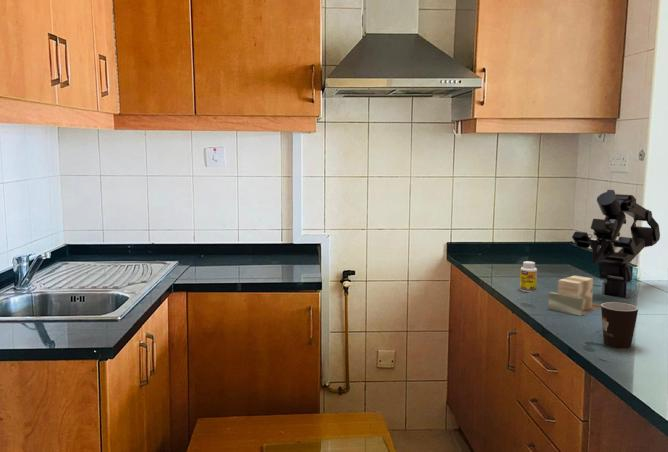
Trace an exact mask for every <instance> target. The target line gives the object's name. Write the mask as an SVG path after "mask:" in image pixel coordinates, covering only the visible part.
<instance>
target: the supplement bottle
mask: <svg viewBox="0 0 668 452" xmlns="http://www.w3.org/2000/svg"><path fill="white" fill-rule="evenodd" d="M537 279H538V268H537V267H536V262H534V261H528V260H526V261H523V263H522V267H520V275H519V290H520V291H521V292H524V293H531V292H535V291H537V283H538V280H537Z"/></svg>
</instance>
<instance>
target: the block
mask: <svg viewBox="0 0 668 452" xmlns="http://www.w3.org/2000/svg"><path fill="white" fill-rule="evenodd" d="M557 283H558V284H557V293H559V294H565V295H570V296H575V297H580V298H583V311H584V310H586V309H589V308H591V307H592V303H593V290H594V278H592V277H586V276H581V275H572V276H568V277H564V278H562V279H558V282H557Z"/></svg>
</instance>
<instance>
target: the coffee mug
mask: <svg viewBox="0 0 668 452" xmlns="http://www.w3.org/2000/svg"><path fill="white" fill-rule="evenodd" d="M600 305H601V308H600V311H601V323H602V340H603V345H604V346H607V347H610V348H612V349H613V348H614V349H620V350H621V349H623V350H624V349H629V348H631V347H632V342H633V338H634V334H635V330H636V329H635V328H636V323H637V318H638V314H639V307H638V306H636V305H634V304H629V303H625V302H615V301H610V302H603V303H601V304H600Z"/></svg>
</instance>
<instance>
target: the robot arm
mask: <svg viewBox="0 0 668 452" xmlns="http://www.w3.org/2000/svg"><path fill="white" fill-rule="evenodd" d="M596 202H597V205H598V206H599V209H600V211H601V213H602V215H603V216H605V217H604V218H603V219H601V218H593V219H592V221H591V225H590V229H591V230H593V235H591V236H590V235H589V234H588V232H585V231H577V230H576V231H574V232H573V234H572V237H571V238H572V240H573V243H574V244H575V246H576V248H578V249H579V248H580V249H586V250H587V249H588V248H590V249H591V251H592V259H591V260H592V262H591V263H592V265H597V264H598V271H599V278H600V279H604V280H603V282H602V286H601V287H602V288H601V295H603V296H608V297H609V296H610V297H614V298H615V297H616V298H620V299H626V300H628V297H627V287H628V286H627V283H629V282H630V283H631V282H632V279H633V272H632V270H631V268H630V265H629V264H630V263H631V262H632V261H633V260H634V259H635V258H636V257H637V256H638V254H640V253H641V252H642V250H643V249H645V248H649V247H653V246H655V245H656V244H657V243H658V242H659V240H660V238H661V232H660V225H659V223H658V222H657V221H656V220H655V218H654V217H653V212H652V211H651V210H650V209H647V208H646V207H643V206H642V205H640V204H639V203H637V199H636V197H635V196H634V195H633V194H621V193H620V194H619V193H616V192H615V189H607V190H606V192H603V193H600V194H599V195H598V196H597V198H596ZM626 215H628V216H629V217H631V218H633V222H632V224H631V226H630V227H629V228H630V235H631V237H626V236H621V232H620V231H621V229H622V226H623V225H626V224H627V219H626V218H627V216H626ZM637 221H640V222H641V221H642V222H646V223H647V224H648V226H649V227H648V226H637ZM589 236H590V237H589ZM617 238H618V240H617ZM618 248H620V250H619V251H617V252H616V250H617V249H618Z"/></svg>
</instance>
